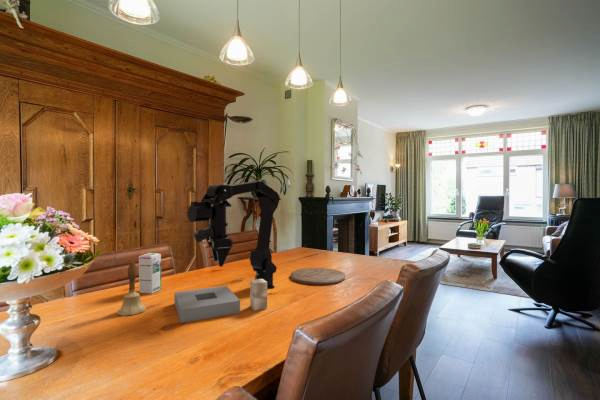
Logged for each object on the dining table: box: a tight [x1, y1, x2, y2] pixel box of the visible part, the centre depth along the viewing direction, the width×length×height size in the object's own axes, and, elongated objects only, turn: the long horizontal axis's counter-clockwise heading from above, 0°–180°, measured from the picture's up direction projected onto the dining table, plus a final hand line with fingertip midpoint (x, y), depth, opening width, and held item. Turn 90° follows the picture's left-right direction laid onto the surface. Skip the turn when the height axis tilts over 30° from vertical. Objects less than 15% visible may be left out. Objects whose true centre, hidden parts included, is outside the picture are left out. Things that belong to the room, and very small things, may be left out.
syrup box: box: [138, 252, 163, 294], centre depth 122 cm, size 6×6×14 cm
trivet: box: [289, 267, 346, 286], centre depth 144 cm, size 25×25×2 cm
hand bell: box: [116, 261, 147, 317], centre depth 102 cm, size 8×8×16 cm
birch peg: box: [249, 279, 268, 312], centre depth 106 cm, size 4×4×9 cm
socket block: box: [173, 285, 241, 324], centre depth 105 cm, size 18×18×4 cm
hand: (218, 263), depth 112 cm, fingers open, 9 cm apart
